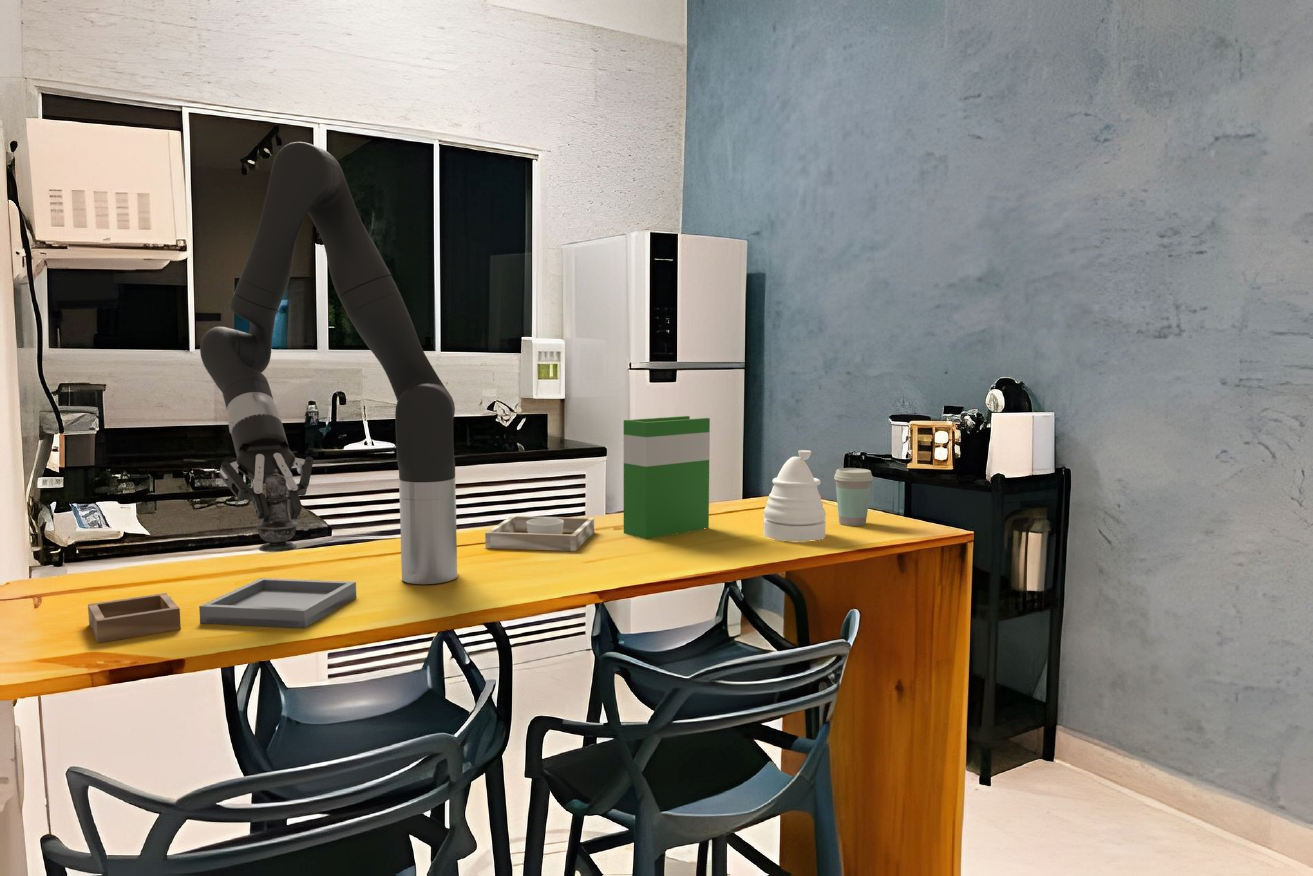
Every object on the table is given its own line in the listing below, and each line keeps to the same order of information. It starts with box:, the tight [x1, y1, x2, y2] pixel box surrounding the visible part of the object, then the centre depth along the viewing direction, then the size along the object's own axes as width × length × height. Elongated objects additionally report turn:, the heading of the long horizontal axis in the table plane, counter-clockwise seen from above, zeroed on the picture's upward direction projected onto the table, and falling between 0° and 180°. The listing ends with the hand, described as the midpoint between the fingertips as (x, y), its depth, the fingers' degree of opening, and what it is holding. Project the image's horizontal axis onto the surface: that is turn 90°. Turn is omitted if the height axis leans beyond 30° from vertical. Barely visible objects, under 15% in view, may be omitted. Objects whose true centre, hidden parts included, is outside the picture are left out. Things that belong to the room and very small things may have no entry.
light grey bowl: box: [527, 518, 564, 534], centre depth 187 cm, size 10×10×5 cm
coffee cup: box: [833, 467, 874, 527], centre depth 208 cm, size 8×9×12 cm
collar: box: [87, 592, 182, 644], centre depth 132 cm, size 10×10×3 cm
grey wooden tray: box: [484, 515, 595, 552], centre depth 190 cm, size 18×18×3 cm
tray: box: [198, 577, 357, 629], centre depth 140 cm, size 16×16×2 cm
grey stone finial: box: [255, 469, 299, 553], centre depth 139 cm, size 6×6×12 cm
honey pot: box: [762, 449, 826, 541], centre depth 194 cm, size 13×13×18 cm
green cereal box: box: [623, 415, 711, 540], centre depth 199 cm, size 18×7×24 cm, turn 130°
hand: (281, 517), depth 137 cm, fingers closed on grey stone finial, 3 cm apart
